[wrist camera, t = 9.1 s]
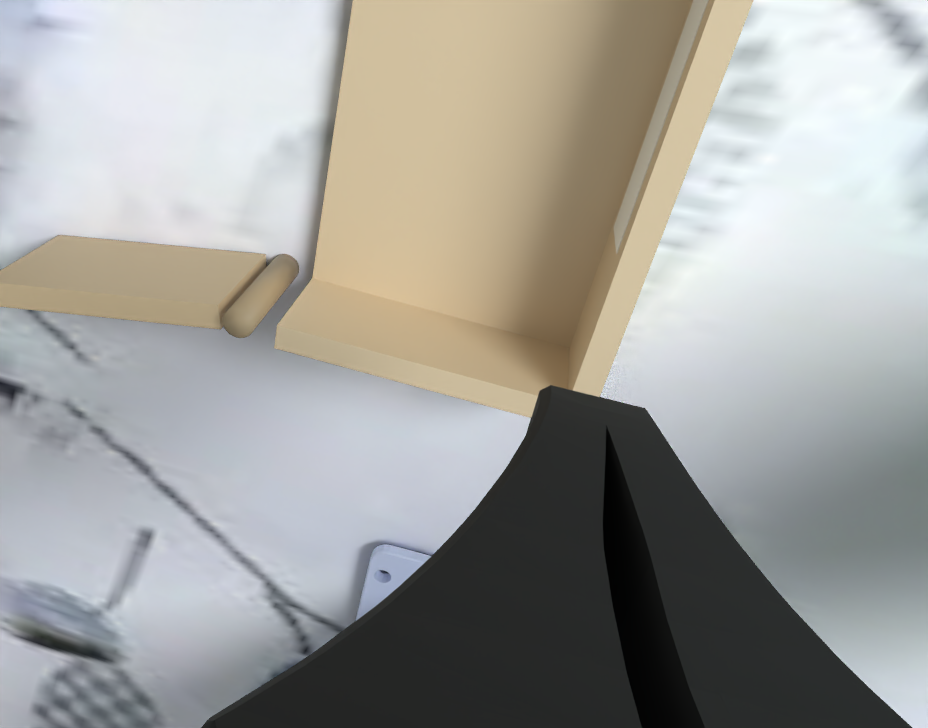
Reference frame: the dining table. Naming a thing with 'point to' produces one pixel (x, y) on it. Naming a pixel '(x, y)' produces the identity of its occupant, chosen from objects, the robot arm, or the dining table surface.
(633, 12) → the open cardboard tray
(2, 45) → the dining table surface
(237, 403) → the dining table surface
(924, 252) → the dining table surface
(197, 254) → the flap
